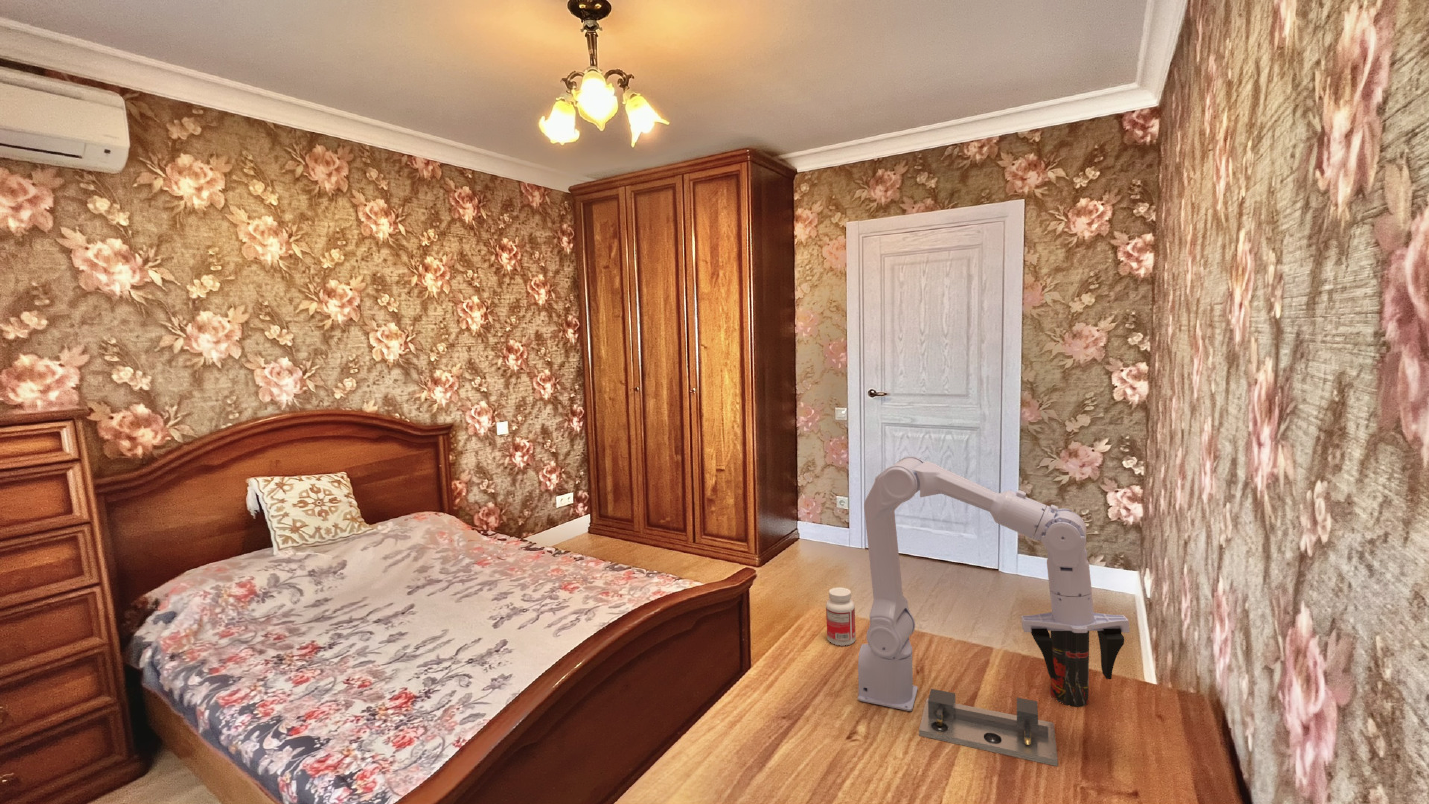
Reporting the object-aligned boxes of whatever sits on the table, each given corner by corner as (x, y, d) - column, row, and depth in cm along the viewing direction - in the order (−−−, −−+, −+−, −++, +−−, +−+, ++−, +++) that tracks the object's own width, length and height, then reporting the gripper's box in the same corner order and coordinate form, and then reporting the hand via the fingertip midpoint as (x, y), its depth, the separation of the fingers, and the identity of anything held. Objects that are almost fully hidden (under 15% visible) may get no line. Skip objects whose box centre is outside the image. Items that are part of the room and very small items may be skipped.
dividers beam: (926, 726, 103) (926, 708, 103) (931, 704, 109) (930, 688, 108) (1049, 752, 95) (1049, 734, 95) (1047, 728, 101) (1047, 710, 101)
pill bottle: (842, 631, 140) (840, 583, 139) (861, 641, 135) (860, 592, 134) (821, 638, 137) (819, 590, 136) (840, 649, 132) (839, 599, 131)
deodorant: (1094, 708, 107) (1095, 624, 106) (1056, 705, 109) (1057, 623, 107) (1081, 689, 113) (1081, 610, 112) (1045, 687, 114) (1046, 608, 113)
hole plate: (919, 735, 102) (919, 729, 102) (926, 703, 111) (926, 697, 111) (1057, 766, 93) (1057, 759, 93) (1053, 728, 102) (1053, 722, 102)
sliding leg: (1017, 742, 97) (1016, 719, 97) (1016, 719, 103) (1016, 697, 102) (1038, 747, 96) (1038, 723, 95) (1037, 723, 101) (1037, 701, 101)
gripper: (1023, 600, 94) (1033, 687, 95) (1133, 599, 90) (1142, 690, 91) (1015, 584, 101) (1024, 665, 102) (1116, 582, 97) (1125, 666, 97)
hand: (1079, 675), depth 97 cm, fingers open, 7 cm apart
